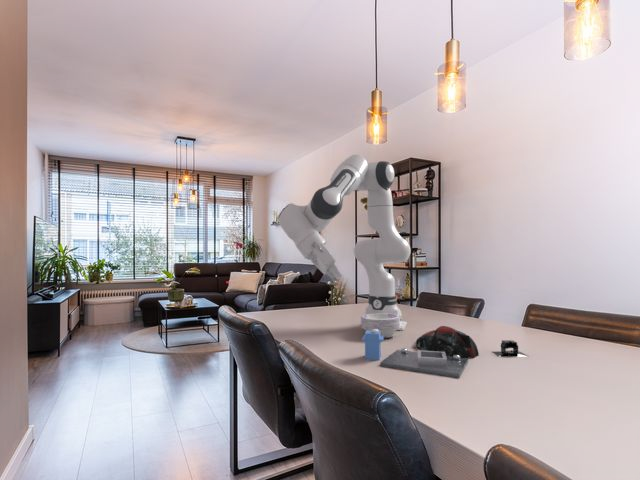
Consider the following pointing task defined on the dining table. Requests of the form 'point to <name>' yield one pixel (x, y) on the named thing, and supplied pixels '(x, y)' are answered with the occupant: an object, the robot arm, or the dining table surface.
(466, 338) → the drone shell
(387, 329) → the paper bowls
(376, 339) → the block
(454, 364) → the plate
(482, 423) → the dining table surface
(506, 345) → the black block with base
